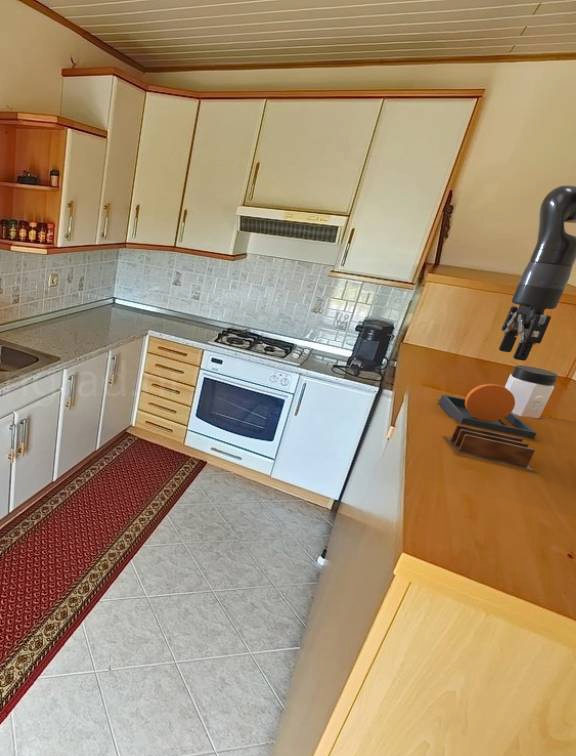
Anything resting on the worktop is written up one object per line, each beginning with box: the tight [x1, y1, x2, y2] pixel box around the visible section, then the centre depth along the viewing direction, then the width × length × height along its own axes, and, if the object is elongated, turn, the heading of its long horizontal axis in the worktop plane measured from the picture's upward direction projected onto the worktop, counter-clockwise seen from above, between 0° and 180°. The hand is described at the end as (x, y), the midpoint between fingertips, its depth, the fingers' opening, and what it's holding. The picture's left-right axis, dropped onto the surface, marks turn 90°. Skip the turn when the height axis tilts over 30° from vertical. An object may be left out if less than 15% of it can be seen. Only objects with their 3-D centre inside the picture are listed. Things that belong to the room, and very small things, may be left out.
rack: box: [445, 424, 536, 471], centre depth 98 cm, size 12×9×5 cm
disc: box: [464, 383, 515, 421], centre depth 116 cm, size 9×2×9 cm, turn 66°
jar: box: [504, 364, 559, 419], centre depth 124 cm, size 9×8×12 cm
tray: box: [438, 394, 538, 440], centre depth 117 cm, size 14×18×3 cm
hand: (511, 355), depth 112 cm, fingers open, 8 cm apart
